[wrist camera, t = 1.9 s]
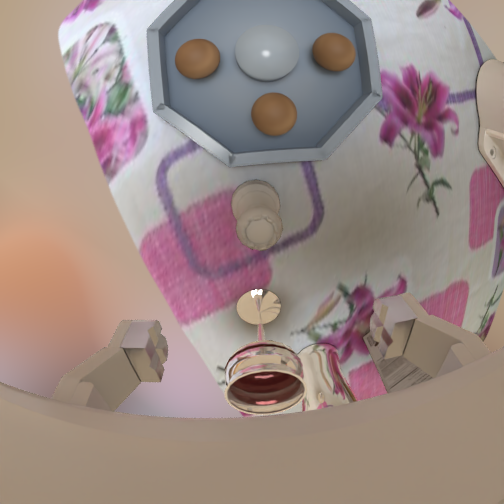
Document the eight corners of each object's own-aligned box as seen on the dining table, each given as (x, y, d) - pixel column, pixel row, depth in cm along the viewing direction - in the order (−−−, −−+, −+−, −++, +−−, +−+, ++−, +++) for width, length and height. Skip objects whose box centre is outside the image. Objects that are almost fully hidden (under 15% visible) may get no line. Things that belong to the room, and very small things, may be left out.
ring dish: (398, 67, 20) (413, 63, 17) (277, 200, 26) (282, 209, 23) (250, -45, 14) (250, -60, 11) (120, 85, 20) (106, 81, 17)
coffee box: (420, 335, 35) (469, 415, 20) (388, 361, 37) (426, 444, 22) (396, 306, 32) (456, 401, 17) (359, 337, 34) (402, 438, 19)
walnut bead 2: (301, 113, 21) (311, 111, 18) (274, 143, 22) (279, 146, 19) (269, 87, 20) (273, 80, 17) (241, 117, 21) (241, 115, 18)
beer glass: (322, 332, 33) (355, 435, 19) (349, 355, 35) (383, 445, 22) (280, 360, 35) (295, 461, 21) (311, 380, 37) (330, 469, 24)
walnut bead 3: (354, 58, 19) (370, 50, 16) (331, 82, 20) (345, 75, 17) (324, 32, 18) (336, 19, 15) (299, 55, 19) (309, 44, 16)
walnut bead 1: (230, 59, 19) (228, 48, 16) (203, 89, 20) (196, 83, 17) (198, 38, 18) (191, 25, 15) (171, 68, 19) (160, 60, 16)
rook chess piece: (254, 233, 27) (259, 275, 20) (221, 202, 26) (212, 233, 18) (288, 202, 26) (306, 234, 19) (255, 168, 24) (261, 186, 17)
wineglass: (268, 337, 33) (277, 420, 22) (218, 316, 31) (209, 403, 20) (300, 297, 30) (325, 381, 20) (247, 272, 29) (249, 357, 18)
